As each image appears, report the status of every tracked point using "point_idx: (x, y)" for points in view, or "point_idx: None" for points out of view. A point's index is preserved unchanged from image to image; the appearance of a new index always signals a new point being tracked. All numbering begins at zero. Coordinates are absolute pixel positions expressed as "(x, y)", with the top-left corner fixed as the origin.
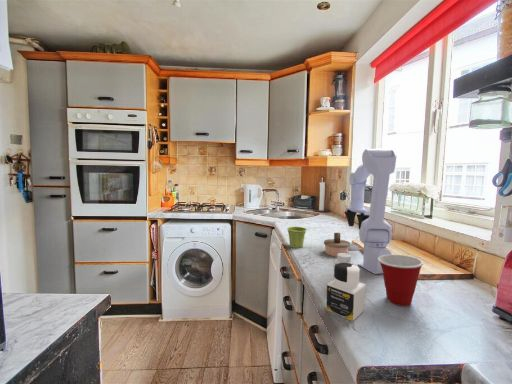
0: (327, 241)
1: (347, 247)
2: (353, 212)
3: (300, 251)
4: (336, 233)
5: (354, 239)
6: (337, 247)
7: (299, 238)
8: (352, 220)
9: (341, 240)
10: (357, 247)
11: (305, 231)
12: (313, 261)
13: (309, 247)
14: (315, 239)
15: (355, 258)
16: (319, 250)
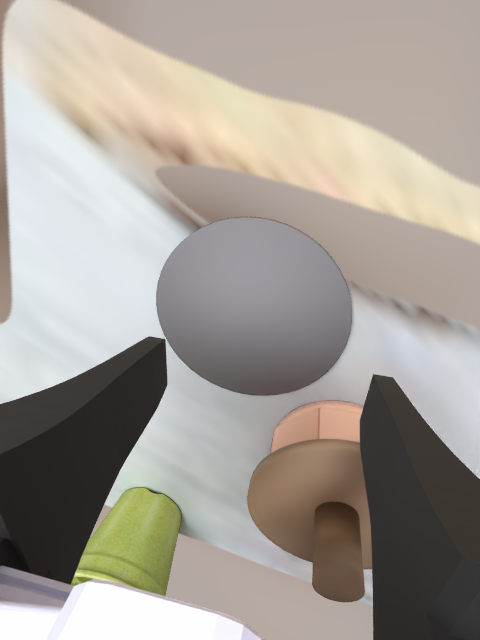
0: (292, 538)
1: None
2: (29, 517)
3: (228, 533)
4: (337, 592)
5: (24, 53)
6: None
7: (169, 572)
8: (123, 402)
9: (307, 466)
10: (287, 256)
11: (141, 586)
12: (369, 569)
13: (180, 476)
14: (29, 364)
15: (451, 415)
16: (241, 470)
